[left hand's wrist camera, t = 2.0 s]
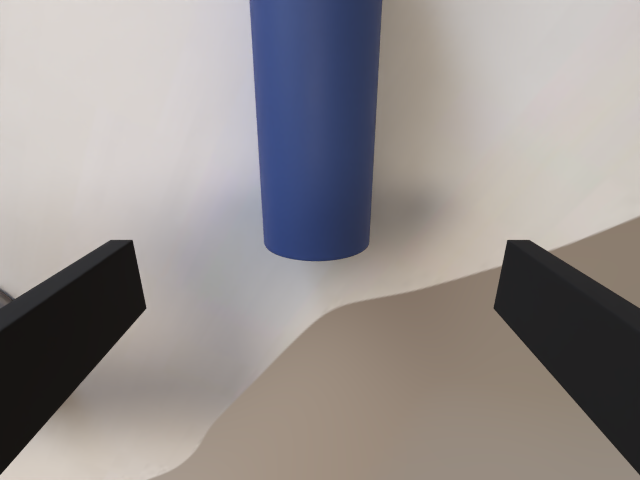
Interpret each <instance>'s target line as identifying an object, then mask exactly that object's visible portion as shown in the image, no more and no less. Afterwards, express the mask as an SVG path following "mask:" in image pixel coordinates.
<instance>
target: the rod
mask: <svg viewBox="0 0 640 480" xmlns="http://www.w3.org/2000/svg"><path fill="white" fill-rule="evenodd" d="M381 11H382V0H250V14H251V31H252V48H253V64H254V81H255V98H256V114H257V131H258V147H259V164H260V181H261V197H262V214H263V231H264V244H265V246H266V248H267V249H268V250H269V251H271V252H272V253H274V254H276V255H279V256H282V257H286V258H290V259H295V260H304V261H329V260H337V259H343V258H347V257H351V256H354V255H356V254H358V253H360V252H362V251H364V250H365V249H366V248H367V247H368V245H369V236H370V217H371V198H372V180H373V161H374V142H375V123H376V105H377V86H378V67H379V49H380V30H381Z"/></svg>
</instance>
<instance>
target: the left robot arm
mask: <svg viewBox="0 0 640 480" xmlns="http://www.w3.org/2000/svg"><path fill="white" fill-rule="evenodd" d="M145 309H146V304H145V299H144V294H143V289H142V284H141V279H140V274H139V269H138V264H137V260H136V255H135V250H134V245H133V240H110V241H108V242H107V243H105V244H103V245H102V246H100V247H99V248H97V249H95V250H94V251H92V252H91V253H89V254H87V255H86V256H84V257H82V258H81V259H79V260H78V261H76V262H74V263H73V264H71V265H70V266H68V267H66V268H65V269H63V270H61V271H60V272H58V273H57V274H55V275H53V276H52V277H50V278H49V279H47V280H45V281H44V282H42V283H40V284H39V285H37V286H36V287H34V288H32V289H31V290H29V291H28V292H26V293H24V294H23V295H21V296H19V297H18V298H16V299H15V300H12V299H10V298H9V297H8V296H7V295H5V294H4V293H3V292H1V291H0V475H1V473H2V472H3V471H4V470H5V469H6V468H7V467H8V466H9V464H10V463H11V462H12V461H13V460H14V459H15V458H16V456H17V455H18V454H19V453H20V452H21V451H22V450H23V448H24V447H25V446H26V445H27V444H28V443H29V442H30V440H31V439H32V438H33V437H34V436H35V435H36V434H37V432H38V431H39V430H40V429H41V428H42V427H43V426H44V424H45V423H46V422H47V421H48V420H49V419H50V418H51V417H52V415H53V414H54V413H55V412H56V411H57V410H58V409H59V407H60V406H61V405H62V404H63V403H64V402H65V401H66V399H67V398H68V397H69V396H70V395H71V394H72V393H73V391H74V390H75V389H76V388H77V387H78V386H79V385H80V383H81V382H82V381H83V380H84V379H85V378H86V377H87V375H88V374H89V373H90V372H91V371H92V370H93V369H94V367H95V366H96V365H97V364H98V363H99V362H100V361H101V360H102V358H103V357H104V356H105V355H106V354H107V353H108V352H109V350H110V349H111V348H112V347H113V346H114V345H115V344H116V342H117V341H118V340H119V339H120V338H121V337H122V336H123V334H124V333H125V332H126V331H127V330H128V329H129V328H130V326H131V325H132V324H133V323H134V322H135V321H136V320H137V318H138V317H139V316H140V315H141V314H142V313H143V312H144V311H145ZM494 309H495V311H496V312H497V313H498V314H499V315H500V316H501V317H502V318H503V320H504V321H505V322H506V323H507V324H508V325H509V326H510V328H511V329H512V330H513V331H514V332H515V333H516V334H517V336H518V337H519V338H520V339H521V340H522V341H523V342H524V344H525V345H526V346H527V347H528V348H529V349H530V350H531V352H532V353H533V354H534V355H535V356H536V357H537V358H538V360H539V361H540V362H541V363H542V364H543V365H544V366H545V367H546V369H547V370H548V371H549V372H550V373H551V374H552V375H553V376H554V378H555V379H556V380H557V381H558V382H559V383H560V385H561V386H562V387H563V388H564V389H565V390H566V391H567V393H568V394H569V395H570V396H571V397H572V398H573V399H574V401H575V402H576V403H577V404H578V405H579V406H580V407H581V408H582V410H583V411H584V412H585V413H586V414H587V415H588V417H589V418H590V419H591V420H592V421H593V422H594V423H595V424H596V426H597V427H598V428H599V429H600V430H601V431H602V432H603V434H604V435H605V436H606V437H607V438H608V439H609V440H610V442H611V443H612V444H613V445H614V446H615V447H616V448H617V450H618V451H619V452H620V453H621V454H622V455H623V456H624V458H625V459H626V460H627V461H628V462H629V463H630V464H631V466H632V467H633V468H634V469H635V470H636V471H637V472H638V473H639V475H640V308H638V307H637V306H635V305H633V304H632V303H630V302H629V301H627V300H625V299H624V298H622V297H621V296H619V295H617V294H616V293H614V292H612V291H611V290H609V289H608V288H606V287H604V286H603V285H601V284H600V283H598V282H596V281H595V280H593V279H591V278H590V277H588V276H587V275H585V274H583V273H582V272H580V271H578V270H577V269H575V268H574V267H572V266H570V265H569V264H567V263H566V262H564V261H562V260H561V259H559V258H557V257H556V256H554V255H553V254H551V253H549V252H548V251H546V250H545V249H543V248H541V247H540V246H538V245H537V244H535V243H533V242H532V241H530V240H507V245H506V250H505V255H504V260H503V264H502V269H501V274H500V279H499V284H498V289H497V294H496V299H495V304H494Z"/></svg>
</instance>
